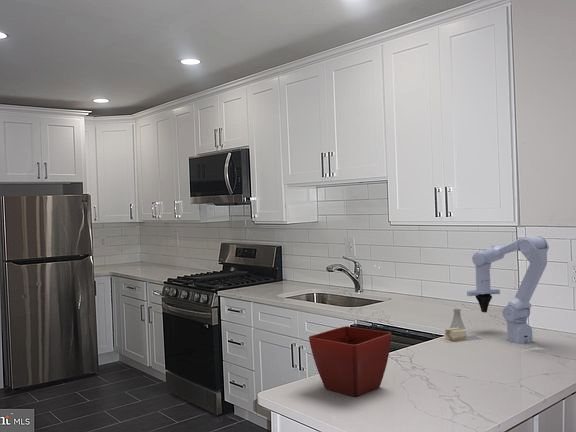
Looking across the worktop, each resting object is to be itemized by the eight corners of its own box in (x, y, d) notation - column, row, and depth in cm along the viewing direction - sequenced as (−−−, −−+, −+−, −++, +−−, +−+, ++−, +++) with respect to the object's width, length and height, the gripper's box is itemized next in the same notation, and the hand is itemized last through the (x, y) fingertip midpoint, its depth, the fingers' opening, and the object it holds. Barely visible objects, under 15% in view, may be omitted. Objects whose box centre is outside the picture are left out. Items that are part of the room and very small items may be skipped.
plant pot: (308, 389, 169) (307, 335, 169) (347, 375, 182) (345, 325, 182) (357, 403, 155) (355, 345, 155) (395, 386, 169) (393, 333, 169)
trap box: (489, 342, 219) (489, 338, 219) (447, 346, 215) (447, 342, 215) (479, 338, 226) (479, 334, 226) (439, 342, 222) (439, 338, 222)
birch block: (466, 340, 217) (466, 330, 217) (453, 341, 216) (452, 331, 216) (458, 337, 223) (458, 327, 223) (445, 338, 222) (445, 328, 222)
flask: (455, 334, 235) (454, 311, 235) (446, 330, 242) (445, 308, 242) (469, 332, 237) (468, 310, 237) (460, 329, 244) (459, 307, 244)
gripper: (492, 278, 235) (494, 309, 235) (462, 280, 232) (463, 311, 232) (502, 279, 228) (503, 311, 228) (471, 282, 225) (472, 314, 225)
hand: (484, 312), depth 229 cm, fingers closed
